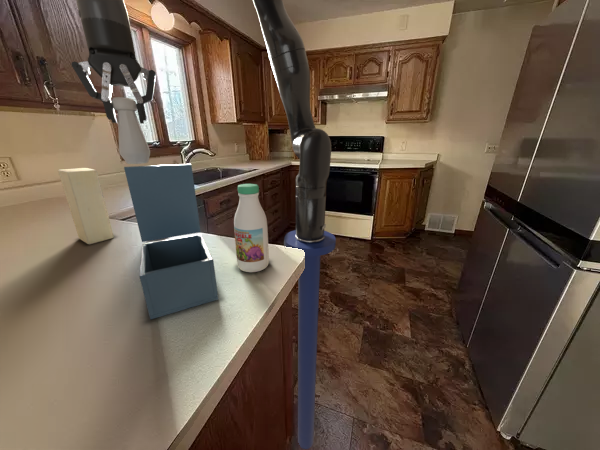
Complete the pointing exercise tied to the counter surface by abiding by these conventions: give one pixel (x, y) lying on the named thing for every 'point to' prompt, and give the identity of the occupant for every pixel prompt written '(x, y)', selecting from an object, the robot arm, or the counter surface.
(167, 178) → the freezer lid
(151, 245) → the box
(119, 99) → the salt shaker
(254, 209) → the milk bottle
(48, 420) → the counter surface
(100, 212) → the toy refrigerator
